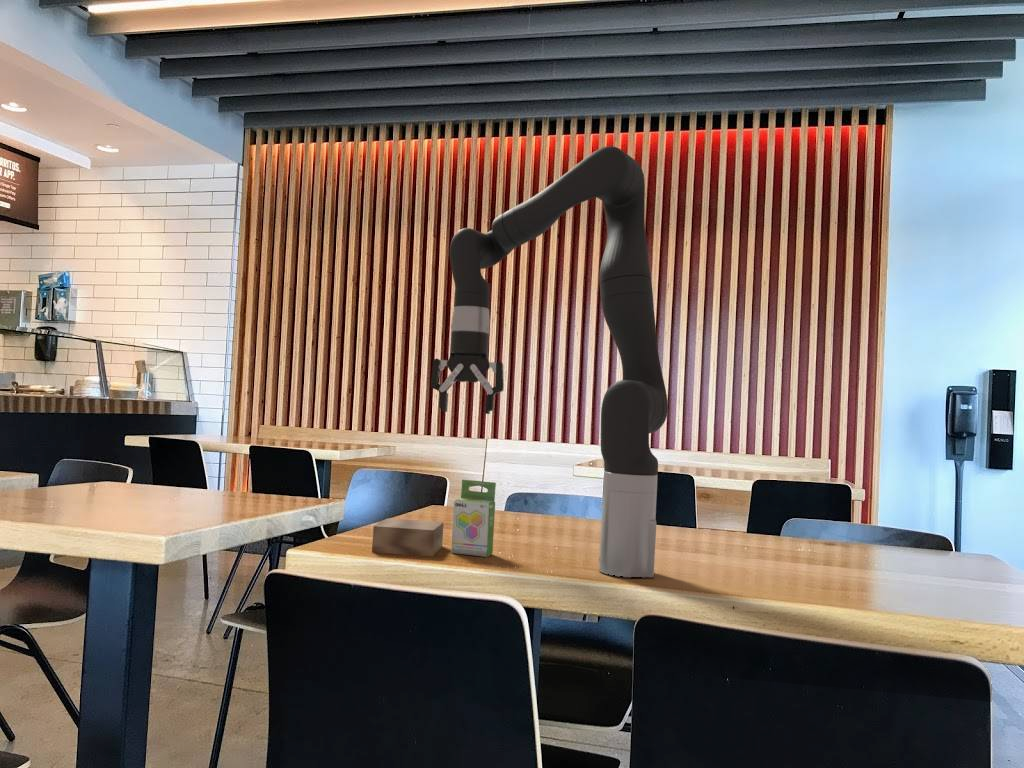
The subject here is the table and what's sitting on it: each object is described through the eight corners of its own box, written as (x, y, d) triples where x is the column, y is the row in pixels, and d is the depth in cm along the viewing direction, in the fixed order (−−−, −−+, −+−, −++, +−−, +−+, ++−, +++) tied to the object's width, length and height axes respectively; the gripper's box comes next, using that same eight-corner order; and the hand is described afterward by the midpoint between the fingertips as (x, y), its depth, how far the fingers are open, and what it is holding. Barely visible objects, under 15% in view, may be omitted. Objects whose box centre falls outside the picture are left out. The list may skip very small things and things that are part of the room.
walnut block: (442, 548, 155) (443, 522, 155) (432, 558, 144) (433, 530, 145) (386, 544, 156) (387, 518, 156) (371, 553, 145) (373, 526, 145)
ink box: (450, 553, 148) (454, 480, 149) (457, 550, 152) (462, 479, 152) (486, 557, 146) (490, 483, 147) (492, 554, 150) (497, 482, 150)
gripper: (507, 334, 163) (503, 414, 162) (438, 331, 164) (433, 411, 163) (503, 330, 155) (499, 414, 155) (431, 327, 157) (426, 410, 156)
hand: (465, 412), depth 159 cm, fingers open, 8 cm apart
